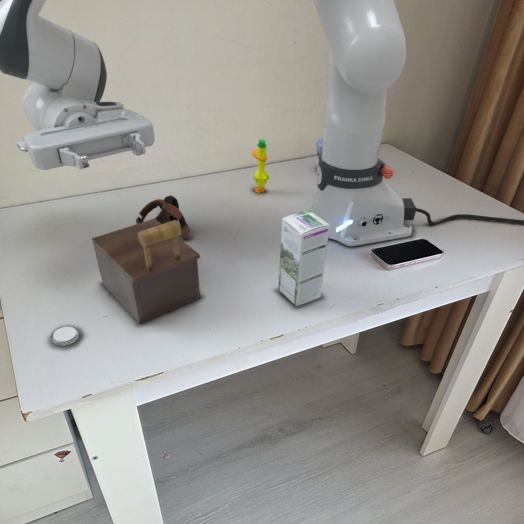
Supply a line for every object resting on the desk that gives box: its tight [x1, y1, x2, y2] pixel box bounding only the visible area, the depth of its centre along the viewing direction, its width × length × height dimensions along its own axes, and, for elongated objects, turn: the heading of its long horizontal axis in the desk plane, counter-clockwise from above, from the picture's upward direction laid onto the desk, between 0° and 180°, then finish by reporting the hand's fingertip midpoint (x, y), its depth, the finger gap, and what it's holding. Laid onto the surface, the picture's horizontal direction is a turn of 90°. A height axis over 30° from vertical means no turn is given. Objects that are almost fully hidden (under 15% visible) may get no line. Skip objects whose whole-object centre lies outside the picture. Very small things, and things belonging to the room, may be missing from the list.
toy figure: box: [251, 139, 270, 194], centre depth 112 cm, size 7×4×12 cm, turn 27°
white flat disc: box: [50, 325, 80, 346], centre depth 76 cm, size 4×4×1 cm
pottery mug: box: [135, 195, 191, 241], centre depth 99 cm, size 12×10×8 cm
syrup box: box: [278, 210, 330, 307], centre depth 81 cm, size 6×6×14 cm
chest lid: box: [91, 218, 201, 283], centre depth 78 cm, size 15×12×7 cm
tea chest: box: [92, 242, 201, 324], centre depth 83 cm, size 14×12×8 cm
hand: (113, 156), depth 74 cm, fingers open, 8 cm apart
